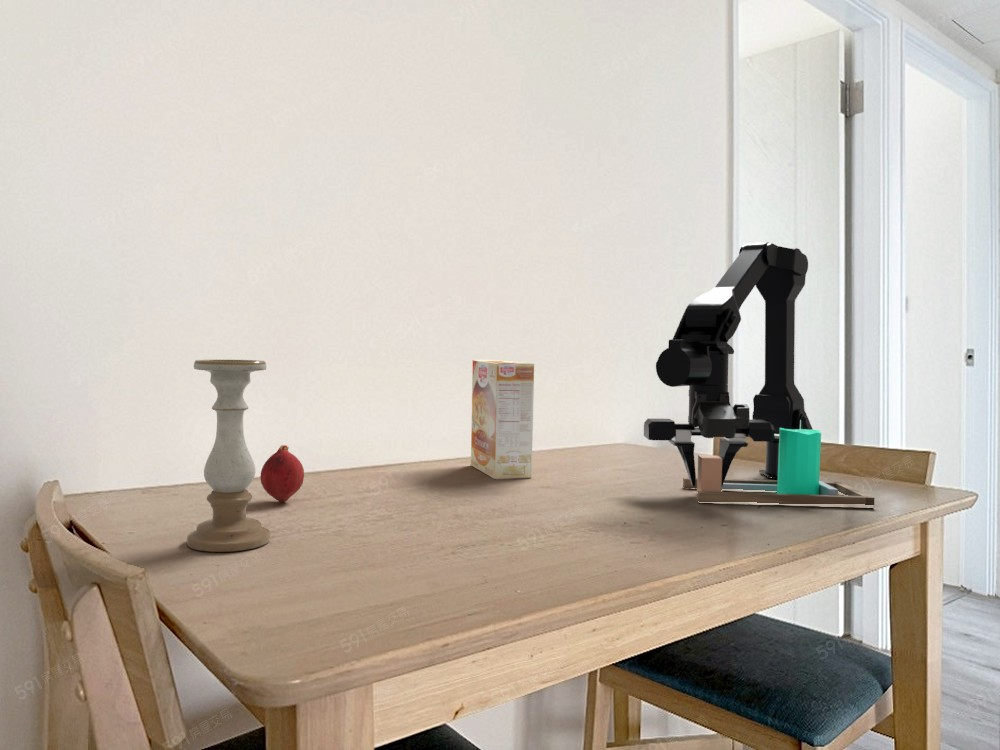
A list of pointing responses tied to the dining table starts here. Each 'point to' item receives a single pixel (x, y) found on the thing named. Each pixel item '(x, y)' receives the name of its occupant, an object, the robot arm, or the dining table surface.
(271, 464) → the onion
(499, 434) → the coffeecake box
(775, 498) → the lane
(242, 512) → the candle holder
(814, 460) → the candle
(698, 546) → the dining table surface
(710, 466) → the frame
